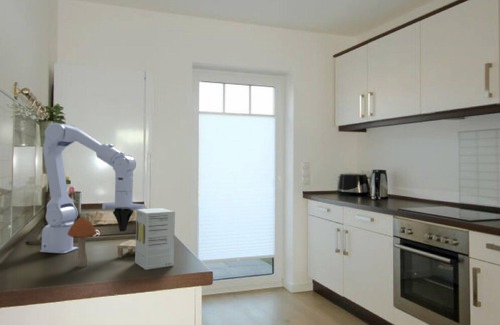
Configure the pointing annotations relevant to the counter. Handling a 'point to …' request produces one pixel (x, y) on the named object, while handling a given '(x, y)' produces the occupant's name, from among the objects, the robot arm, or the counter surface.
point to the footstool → (126, 247)
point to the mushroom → (82, 237)
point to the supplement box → (154, 238)
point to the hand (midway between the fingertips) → (122, 230)
